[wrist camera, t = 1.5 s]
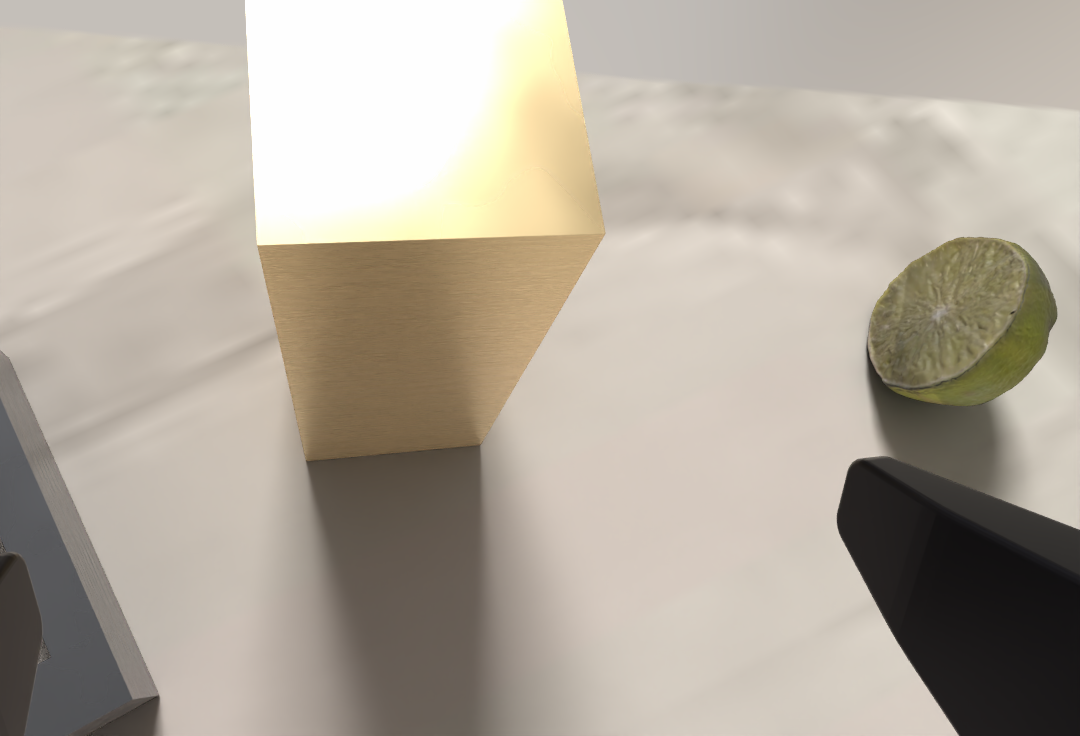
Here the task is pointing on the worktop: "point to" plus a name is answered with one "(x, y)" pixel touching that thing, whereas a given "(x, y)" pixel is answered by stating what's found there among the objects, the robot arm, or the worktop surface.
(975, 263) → the lime
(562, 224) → the brass post
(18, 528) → the dark gray rack frame
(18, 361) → the worktop surface
